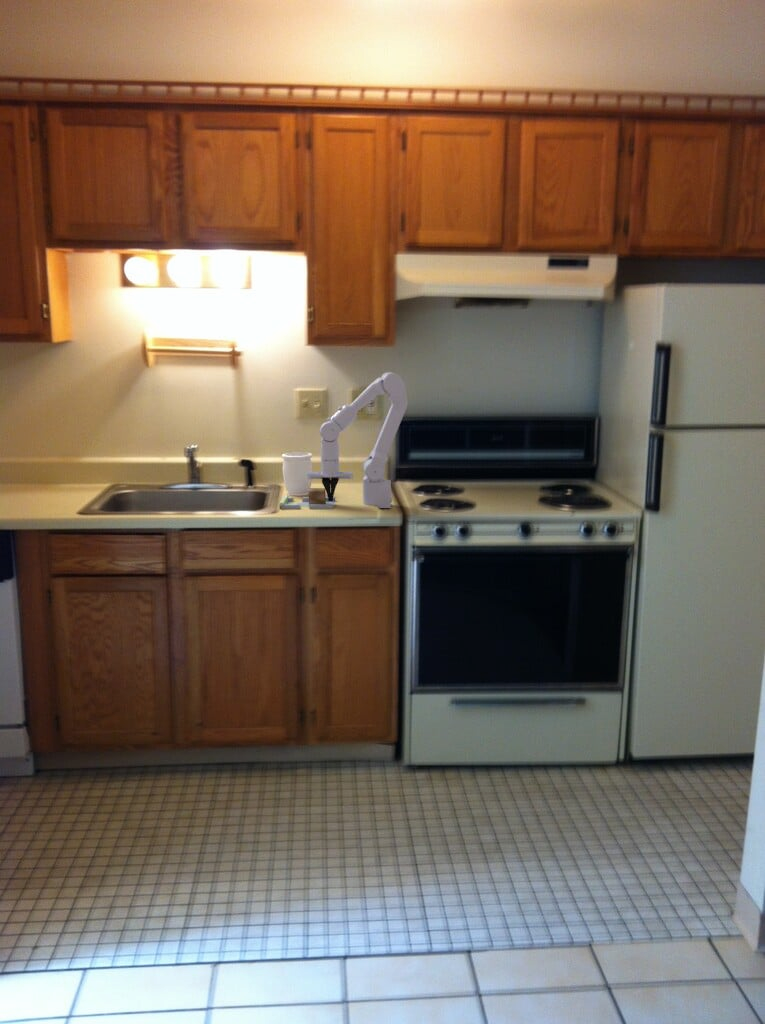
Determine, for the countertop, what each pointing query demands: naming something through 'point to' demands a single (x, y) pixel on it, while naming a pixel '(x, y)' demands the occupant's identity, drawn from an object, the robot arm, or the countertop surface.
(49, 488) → the countertop surface
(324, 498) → the walnut block
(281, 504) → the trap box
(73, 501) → the countertop surface
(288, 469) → the jar
